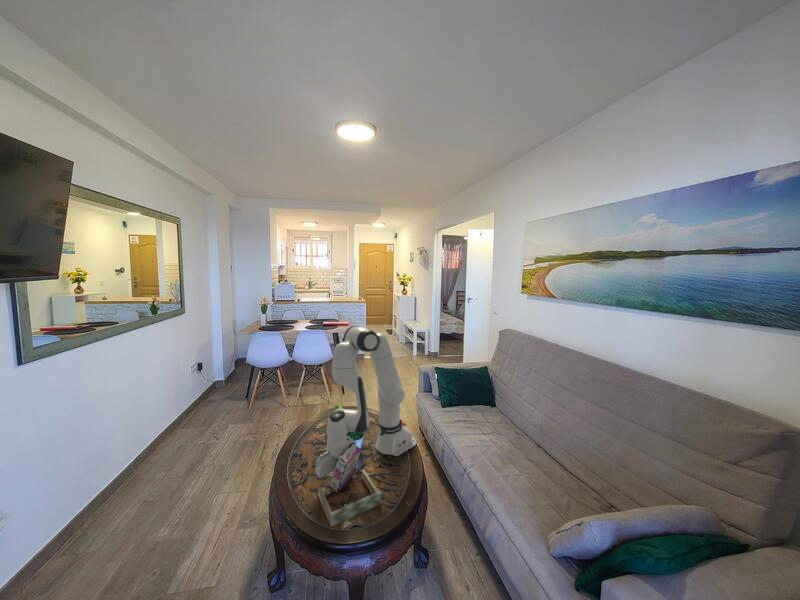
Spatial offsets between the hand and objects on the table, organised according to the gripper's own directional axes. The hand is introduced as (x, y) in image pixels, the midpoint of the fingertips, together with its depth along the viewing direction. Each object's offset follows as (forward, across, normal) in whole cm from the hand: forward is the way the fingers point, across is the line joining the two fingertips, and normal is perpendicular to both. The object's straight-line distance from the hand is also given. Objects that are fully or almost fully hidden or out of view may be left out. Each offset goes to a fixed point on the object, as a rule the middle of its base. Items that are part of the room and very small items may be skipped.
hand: (336, 474), depth 136 cm
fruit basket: (+3, +29, +37) cm, 47 cm away
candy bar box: (+2, 0, -3) cm, 4 cm away
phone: (+3, +15, +24) cm, 28 cm away
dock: (+2, -3, -13) cm, 13 cm away
